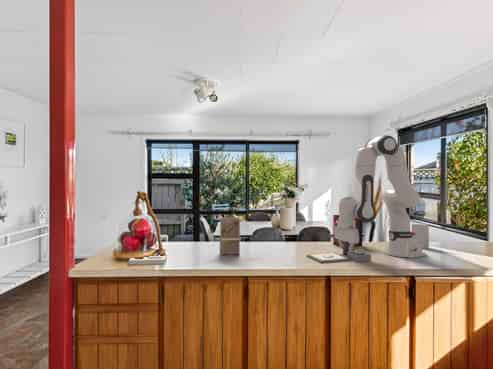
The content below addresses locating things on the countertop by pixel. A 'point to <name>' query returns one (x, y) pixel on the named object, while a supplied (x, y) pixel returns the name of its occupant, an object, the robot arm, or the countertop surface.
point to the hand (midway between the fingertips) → (346, 248)
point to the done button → (358, 251)
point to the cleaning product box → (356, 224)
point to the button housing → (359, 257)
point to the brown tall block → (230, 235)
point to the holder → (149, 260)
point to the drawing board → (328, 257)
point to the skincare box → (421, 234)
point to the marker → (345, 247)
